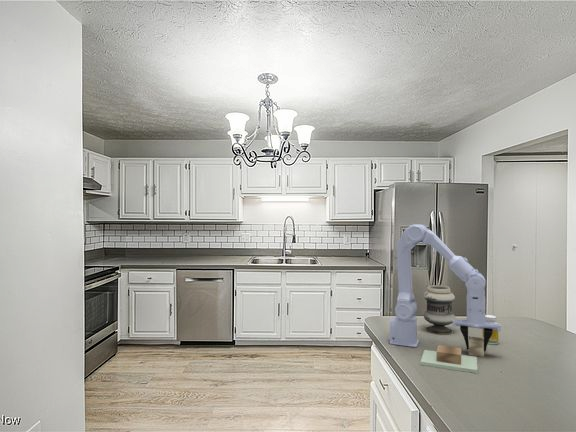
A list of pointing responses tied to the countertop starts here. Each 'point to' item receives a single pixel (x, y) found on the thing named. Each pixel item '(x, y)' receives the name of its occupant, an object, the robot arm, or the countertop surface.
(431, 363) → the baseplate
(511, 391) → the countertop surface
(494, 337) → the supplement bottle
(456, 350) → the base block
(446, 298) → the apothecary jar
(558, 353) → the countertop surface
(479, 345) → the maple brick
